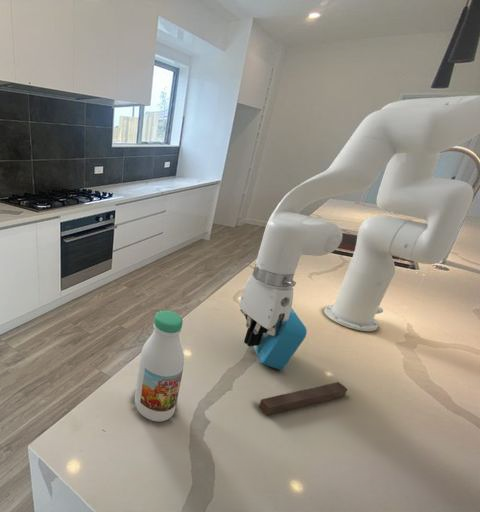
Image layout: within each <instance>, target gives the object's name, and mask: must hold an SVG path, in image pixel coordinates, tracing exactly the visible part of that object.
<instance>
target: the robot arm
mask: <svg viewBox="0 0 480 512" xmlns="http://www.w3.org/2000/svg"><path fill="white" fill-rule="evenodd" d="M479 134H480V94H478V95H477V94H476V95H455V96H442V97H441V96H440V97H423V98H422V97H421V98H408V99H401V100H396V101H393V102H390V103H388V104H386V105H384V106H383V107H381V109H378V110H375V111H373V112H371V113H370V114H368V115H367V116H366V117H365V118H364V119H363V120H362V121H361V122H360V123H359V125H358V126H357V127H356V129H355V130H354V132H353V133H352V135H351V136H350V138H348V140H347V141H346V143H345V144H344V146H343V148H342V149H341V150H340V152H339V153H338V154H337V155H336V157H335V158H334V159H333V161H332V162H331V164H330V165H329V167H328V168H327V169H326V170H324V171H321V173H318V174H316V175H314V176H311V177H310V178H308V179H306V180H305V181H303V182H301V183H300V184H298V185H297V186H295V187H294V188H292V189H291V190H289V191H288V192H287V193H286V194H285V195H284V196H283V198H282V199H281V200H280V202H278V204H277V206H276V207H275V208H274V210H273V211H272V213H271V215H270V216H269V218H268V220H267V223H266V226H265V228H264V232H263V236H262V239H261V243H260V246H259V251H258V254H257V257H256V261H255V265H254V268H253V271H252V273H251V274H250V275H249V277H248V279H247V281H246V283H245V286H244V287H243V290H242V294H241V297H240V300H239V308H240V309H239V310H240V312H241V313H242V315H243V316H244V317H245V321H246V323H245V326H246V329H247V330H246V334H245V337H244V340H243V343H244V344H246V345H247V347H254V346H257V345H259V344H260V342H261V339H262V336H263V333H267V334H269V335H271V336H278V334H279V329H280V321H282V324H283V323H284V321H287V320H288V319H289V315H290V311H291V308H292V307H293V300H294V288H293V287H296V284H297V282H296V281H295V280H294V278H295V277H294V276H295V275H296V274H295V273H296V271H297V268H298V265H299V262H300V259H301V256H312V257H322V256H326V255H329V254H332V253H333V252H335V251H336V250H337V249H338V248H339V247H340V245H341V243H342V241H343V231H342V229H341V228H340V227H339V226H338V225H337V224H335V223H334V222H331V221H328V220H325V219H320V218H317V217H313V216H310V215H306V214H301V213H300V212H301V211H302V210H304V209H305V208H306V207H308V206H310V205H311V204H313V203H315V202H318V201H320V200H323V199H327V198H332V197H338V196H343V195H348V194H353V193H359V192H362V191H366V190H367V189H369V188H370V187H372V186H373V185H374V183H375V182H376V180H377V179H378V177H379V176H380V175H381V173H382V172H383V171H384V173H383V176H382V179H381V182H380V185H379V188H378V191H377V195H376V200H375V201H376V202H375V203H376V206H377V208H379V209H380V210H382V211H384V212H388V213H392V214H397V215H402V216H405V217H406V216H408V217H411V218H412V217H413V218H416V219H423V220H425V221H426V222H420V221H416V220H412V219H409V218H403V217H399V216H397V217H396V216H391V215H381V214H378V215H372V216H370V217H367V218H366V219H365V220H363V221H362V223H360V225H359V228H358V231H357V236H356V241H355V242H356V243H355V247H354V250H353V253H352V257H351V260H350V262H349V265H348V267H347V270H346V272H345V274H344V277H343V279H342V282H341V285H340V287H339V290H338V292H337V295H336V297H335V300H334V302H333V304H330V305H327V306H325V307H324V310H323V312H324V314H325V316H326V317H327V318H329V319H330V320H331V321H333V322H334V323H337V324H339V325H341V326H343V327H346V328H349V329H353V330H356V331H361V332H374V331H377V329H378V327H379V324H378V322H377V320H376V319H374V318H375V316H376V315H378V314H382V313H383V312H384V309H383V307H381V303H382V302H383V299H384V298H385V295H386V293H387V291H388V289H389V287H390V284H391V282H392V280H393V278H394V276H395V272H396V265H395V262H394V259H393V257H396V258H400V259H404V260H406V261H411V262H414V263H418V264H422V265H436V264H438V263H440V262H441V261H443V260H444V259H445V258H446V257H447V255H448V254H449V252H450V251H451V249H452V247H453V245H454V243H455V241H456V239H457V236H458V234H459V232H460V230H461V228H462V225H463V223H464V221H465V219H466V217H467V214H468V212H469V210H470V207H471V205H472V202H473V199H474V188H473V187H472V185H471V184H470V183H468V182H466V181H463V180H459V179H452V178H444V177H443V178H442V177H436V176H435V171H436V168H437V165H438V162H439V160H440V157H441V153H442V152H446V151H448V150H450V149H452V148H454V147H457V146H460V145H462V144H464V143H467V142H468V141H470V140H472V139H474V138H475V137H477V136H478V135H479ZM282 317H283V318H282Z"/></svg>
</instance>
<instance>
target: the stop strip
mask: <svg viewBox="0 0 480 512" xmlns="http://www.w3.org/2000/svg"><path fill="white" fill-rule="evenodd" d="M348 389H349V388H348V387H346V386H344V385H343V384H342V383H341V382H339V381H336V382H333V383H327V384H323V385H318V386H315V387H310V388H306V389H301V390H297V391H291V392H288V393H283V394H279V395H275V396H270V397H266V398H262V399H260V402H259V404H258V407H259V409H260V410H261V412H263V413H264V414H265V415H266V416H269V415H273V414H277V413H282V412H286V411H290V410H293V409H299V408H302V407H306V406H310V405H311V406H312V405H314V404H319V403H322V402H326V401H331V400H334V399H339V398H343V397H345V396H346V394H347V392H348Z"/></svg>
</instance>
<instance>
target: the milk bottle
mask: <svg viewBox="0 0 480 512" xmlns="http://www.w3.org/2000/svg"><path fill="white" fill-rule="evenodd" d="M153 319H154V320H153V332H152V333H151V335H150V336H149V337H148V338H147V340H146V341H145V342H144V344H143V347H142V349H141V353H140V358H139V363H138V371H137V377H136V384H135V393H134V405H135V408H136V410H137V412H139V414H140V415H141V416H142V417H144V418H146V419H148V420H149V421H153V422H164V421H167V420H169V419H170V418H172V417H173V415H174V414H175V411H176V408H177V402H178V397H179V393H180V387H181V384H182V383H181V382H182V379H183V378H182V377H183V372H184V366H185V357H184V356H185V355H184V350H183V347H182V343H181V340H180V334H181V333H182V327H183V323H184V321H183V317H182V316H181V315H180V314H178V313H177V312H174V311H171V310H160V311H157V312H156V313H155V315H154V318H153Z"/></svg>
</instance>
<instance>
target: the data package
mask: <svg viewBox="0 0 480 512" xmlns="http://www.w3.org/2000/svg"><path fill="white" fill-rule="evenodd" d="M282 318H283V317H282ZM307 333H308V331H307V327H306V326H305V325H304V323H303V322H302V320H301V319H300V317H299V316H298V315H297V313H296V312H295V310H294V308H292V307H291V311H290V315H289V319H288V320H287V321H284V323H283V324H282V321H280V329H279V334H278V336H271V335H269V334H267V333H263V336H262V339H261V342H260V344H259V345H257V346H253V349H254V351H255V353H256V356H257V358H258V361H259V363H260V364H262V365H265V366H268V367H269V368H270V367H271V368H272V369H277V370H279V371H282V370H284V369H285V368H286V366H287V365H288V363H289V362H290V360H291V359H292V357H294V354H295V353H296V352H297V350H298V349H299V347H300V346H301V345H302V343H303V341H304V340H305V339H306V337H307V335H308V334H307Z"/></svg>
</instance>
